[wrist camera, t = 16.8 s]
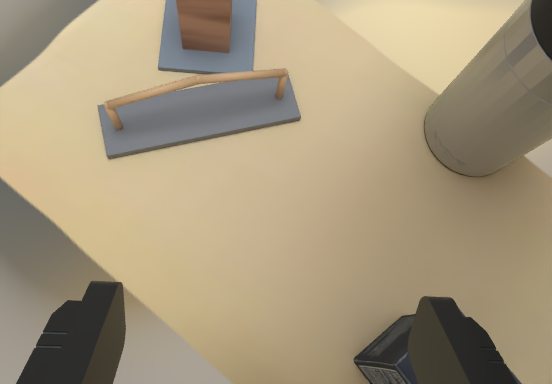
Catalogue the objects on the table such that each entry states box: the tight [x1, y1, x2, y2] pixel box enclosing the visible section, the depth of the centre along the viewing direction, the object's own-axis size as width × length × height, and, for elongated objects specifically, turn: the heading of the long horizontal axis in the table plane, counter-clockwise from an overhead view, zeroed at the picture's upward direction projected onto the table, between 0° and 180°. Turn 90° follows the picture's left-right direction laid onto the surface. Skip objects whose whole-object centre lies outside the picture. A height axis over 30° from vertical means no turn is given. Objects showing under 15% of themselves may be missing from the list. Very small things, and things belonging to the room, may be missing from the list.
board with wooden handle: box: [98, 69, 301, 159], centre depth 42 cm, size 5×18×7 cm, turn 105°
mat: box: [158, 0, 256, 74], centre depth 48 cm, size 9×9×1 cm
